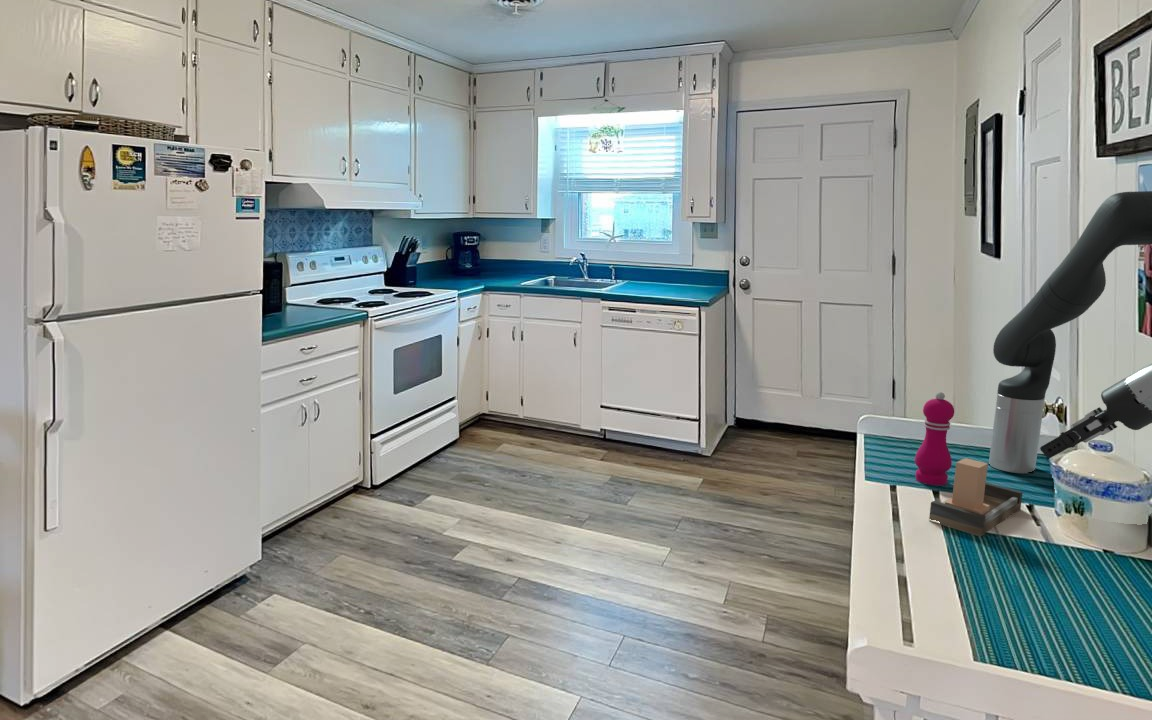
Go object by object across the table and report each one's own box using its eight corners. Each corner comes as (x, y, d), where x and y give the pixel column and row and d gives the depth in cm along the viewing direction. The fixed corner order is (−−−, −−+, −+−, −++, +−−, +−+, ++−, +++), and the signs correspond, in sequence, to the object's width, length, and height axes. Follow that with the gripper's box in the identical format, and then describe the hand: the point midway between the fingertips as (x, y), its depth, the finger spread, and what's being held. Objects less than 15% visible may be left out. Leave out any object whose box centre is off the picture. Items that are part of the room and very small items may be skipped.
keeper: (954, 505, 135) (960, 456, 133) (988, 515, 131) (994, 464, 129) (943, 512, 132) (949, 461, 130) (977, 522, 127) (984, 469, 126)
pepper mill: (954, 487, 149) (964, 396, 146) (917, 484, 151) (927, 394, 147) (943, 476, 156) (953, 389, 153) (909, 473, 158) (917, 387, 154)
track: (971, 496, 145) (973, 479, 144) (1020, 509, 138) (1022, 491, 137) (929, 520, 132) (931, 502, 131) (980, 536, 125) (982, 517, 124)
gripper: (1139, 370, 115) (1050, 423, 125) (1116, 381, 106) (1022, 437, 116) (1176, 408, 112) (1081, 459, 122) (1155, 422, 103) (1054, 476, 113)
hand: (1052, 448), depth 119 cm, fingers open, 8 cm apart
